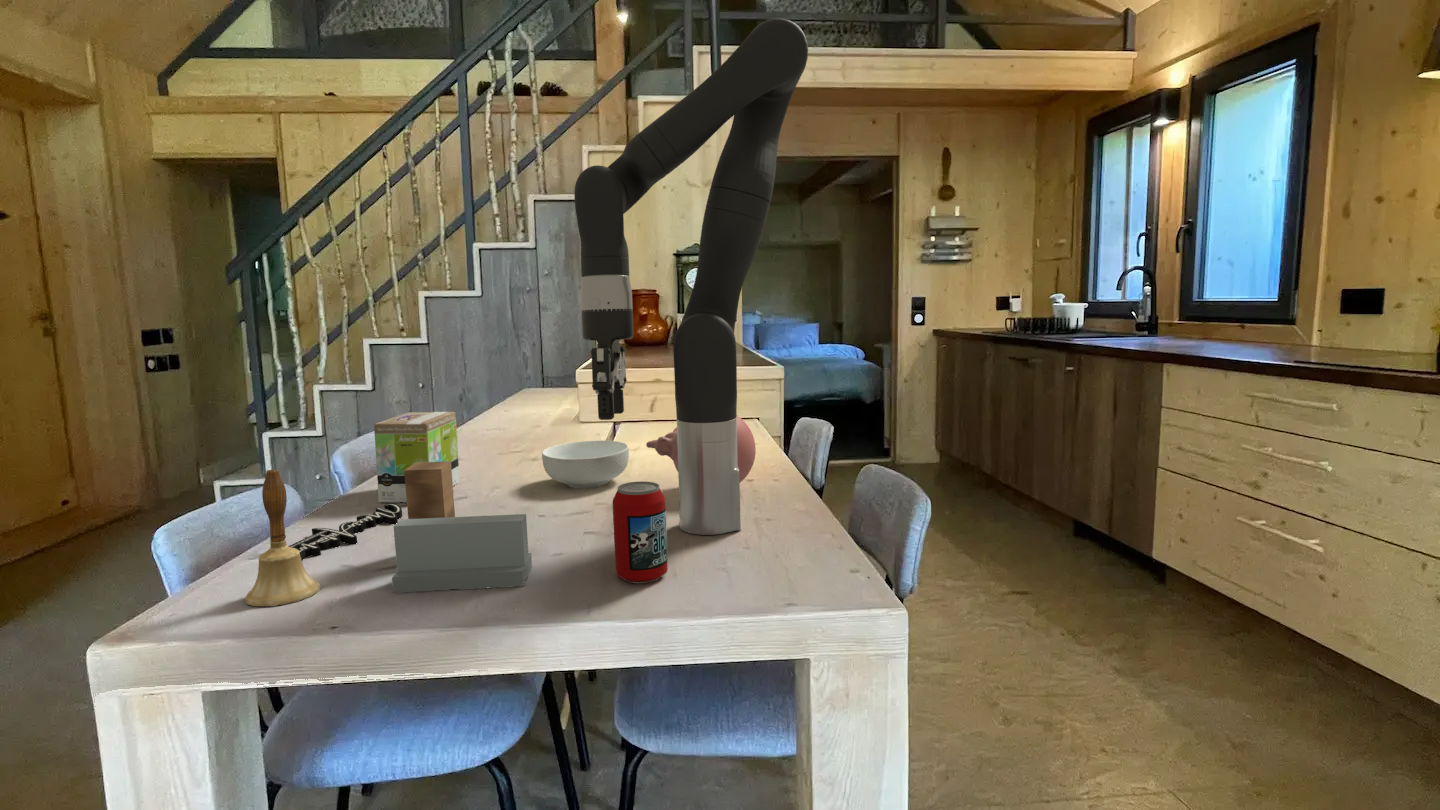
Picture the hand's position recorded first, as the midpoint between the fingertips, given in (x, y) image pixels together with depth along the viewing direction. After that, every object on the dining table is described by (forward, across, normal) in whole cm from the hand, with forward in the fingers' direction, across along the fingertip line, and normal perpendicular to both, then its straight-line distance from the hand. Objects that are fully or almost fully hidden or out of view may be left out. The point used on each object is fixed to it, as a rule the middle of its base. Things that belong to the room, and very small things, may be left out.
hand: (611, 416), depth 116 cm
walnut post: (+18, -8, +25) cm, 32 cm away
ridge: (+19, -18, +17) cm, 31 cm away
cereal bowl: (+17, +33, +12) cm, 39 cm away
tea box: (+17, +28, +42) cm, 53 cm away
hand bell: (+19, -22, +38) cm, 48 cm away
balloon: (+17, +26, -12) cm, 33 cm away
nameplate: (+18, +2, +43) cm, 47 cm away
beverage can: (+19, -17, -6) cm, 27 cm away
